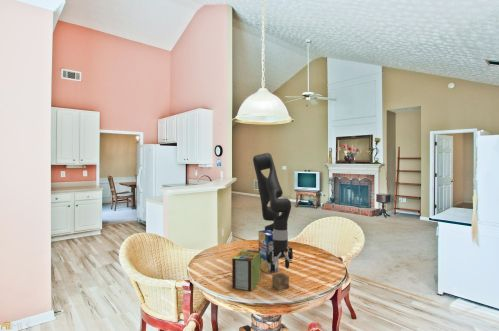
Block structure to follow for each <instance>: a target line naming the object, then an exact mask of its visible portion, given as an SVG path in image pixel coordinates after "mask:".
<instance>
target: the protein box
mask: <svg viewBox="0 0 499 331" xmlns="http://www.w3.org/2000/svg"><path fill="white" fill-rule="evenodd" d="M231 259H232V261H231V262H232V264H231V266H232V269H231V270H232V274H231V277H232V278H231V279H232V280H231V283H232V284H231V285H232V286H231V288H232V289H234V290H241V291H247V292H252V291H253V290H254V288H255V287H256V286H257V284H258V283H259V281H260V280H261V269H260V251H258V250H253V249H246V248H245V249H244V248H242V249H241V250H239V252H238V253H236V254H235V255H234V256H233V257H232V258H231Z"/></svg>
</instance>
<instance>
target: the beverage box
mask: <svg viewBox="0 0 499 331" xmlns="http://www.w3.org/2000/svg"><path fill="white" fill-rule="evenodd" d="M268 250H269V251H273V231H270V230H265V229H264V230H258V247H257V251H260V271H261V270H262V271H263V272H265V273H266V274H267V275H270V274H276V273H279V259H278V260H277V261H276V262H275V272H273V271H272V270H271V264H270V263H268V262H267V253H268ZM272 256H273V255H272ZM275 258H276V257H275ZM273 261H274V260H273Z"/></svg>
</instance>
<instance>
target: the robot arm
mask: <svg viewBox="0 0 499 331" xmlns="http://www.w3.org/2000/svg"><path fill="white" fill-rule="evenodd" d="M252 162H253V167H254V172H255V175H256V180H257V188H258V193H259V197H260V198H259V199H260V203H261V214H262V219H263V220H264V221H266V222H267V221H269V222H272V223H271V224H267V225H266V226H265V227H264V230H270V231H273V251H269V250H268V253H267V262H268V263H270V264H271V270H272V271H273V272H275V262H276V261H277V260H278V261H279V260H280V259H283V258H284V268H285V269H289V267H290V261H291V260H293V259H294V255H293V253H294V252H293V247H291V246H289V244H288V243H289V239H288V238H289V237H288V236H289V232H288V220H289V217H290V214H291V209H292V203H291V202H292V201H291V200H290V199H289V198H288V197H287V198H286V197H282V196H283V194H284V193H283V189H282V187H281V184H280V182H279V178H278V174H277V170H276V167H275V162H274V159H273V156H272V154H271V153H269V152H265V153H261V154H256V155H254V156H253V158H252ZM263 170H264V171H265V170H269V173H268V177H267V176H265V175H264V173H263V172H262V171H263ZM281 197H282V198H281ZM268 204H269V206H268ZM280 213H281V214H280ZM272 255H273V256H272ZM275 257H276V258H275ZM273 260H274V261H273ZM275 273H276V272H275Z"/></svg>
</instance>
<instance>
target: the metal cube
mask: <svg viewBox="0 0 499 331" xmlns="http://www.w3.org/2000/svg"><path fill="white" fill-rule="evenodd" d="M271 279H272V280H271V281H272V282H271V283H272V284H271V286H272V287H273V288H274V289H276V290H277V291H279V292H281V291H284V290H288V289H290V276H289V275H287V274H285V273H284V272H282V271H281V272H276V273H272V275H271Z"/></svg>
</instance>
